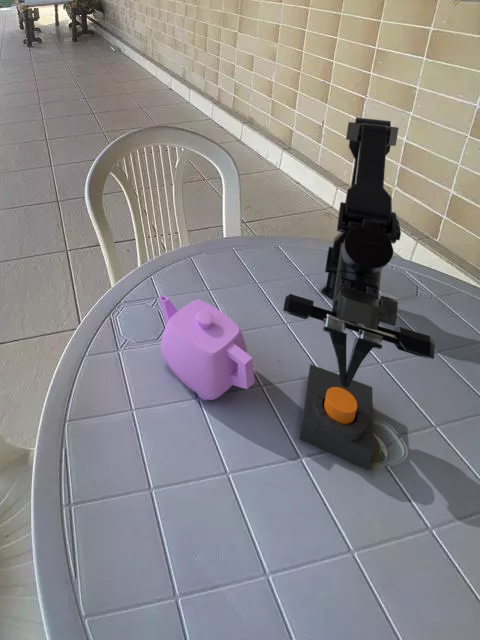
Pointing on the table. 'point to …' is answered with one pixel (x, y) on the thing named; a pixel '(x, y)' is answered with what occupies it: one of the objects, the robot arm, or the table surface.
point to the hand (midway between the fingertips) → (344, 386)
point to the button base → (332, 435)
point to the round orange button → (340, 405)
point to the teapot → (205, 349)
